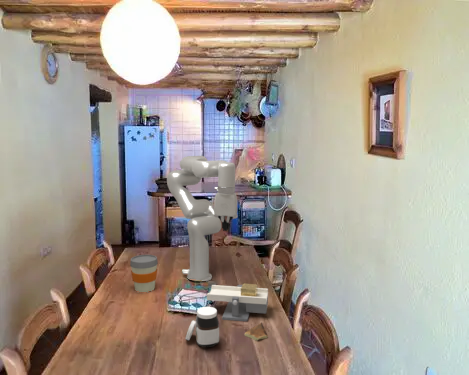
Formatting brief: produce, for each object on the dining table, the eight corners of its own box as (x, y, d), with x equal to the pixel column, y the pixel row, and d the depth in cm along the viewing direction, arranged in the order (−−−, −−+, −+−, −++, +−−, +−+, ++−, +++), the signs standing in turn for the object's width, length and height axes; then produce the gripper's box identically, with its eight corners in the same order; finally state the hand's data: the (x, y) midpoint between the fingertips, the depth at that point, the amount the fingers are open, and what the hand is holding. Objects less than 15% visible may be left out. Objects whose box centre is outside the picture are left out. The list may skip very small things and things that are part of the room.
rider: (240, 298, 159) (240, 288, 158) (243, 292, 164) (243, 283, 164) (255, 299, 158) (255, 289, 157) (257, 293, 163) (257, 284, 163)
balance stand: (222, 319, 155) (222, 299, 154) (229, 301, 172) (229, 283, 171) (247, 321, 154) (247, 300, 153) (252, 303, 171) (252, 284, 169)
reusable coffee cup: (130, 295, 179) (129, 263, 177) (131, 285, 191) (130, 255, 189) (158, 293, 181) (157, 261, 179) (158, 283, 193) (157, 253, 191)
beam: (206, 309, 160) (206, 294, 159) (212, 299, 170) (212, 284, 169) (265, 314, 156) (266, 298, 155) (267, 303, 166) (268, 288, 165)
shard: (261, 325, 151) (261, 321, 151) (278, 332, 146) (278, 327, 146) (243, 336, 143) (243, 332, 143) (260, 343, 138) (260, 339, 138)
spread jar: (221, 347, 135) (221, 315, 133) (188, 353, 132) (188, 320, 130) (213, 331, 146) (213, 301, 145) (183, 335, 143) (182, 305, 142)
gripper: (208, 190, 173) (207, 231, 176) (241, 192, 170) (240, 233, 173) (212, 188, 180) (211, 226, 183) (244, 189, 177) (243, 229, 180)
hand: (225, 230), depth 178 cm, fingers closed
